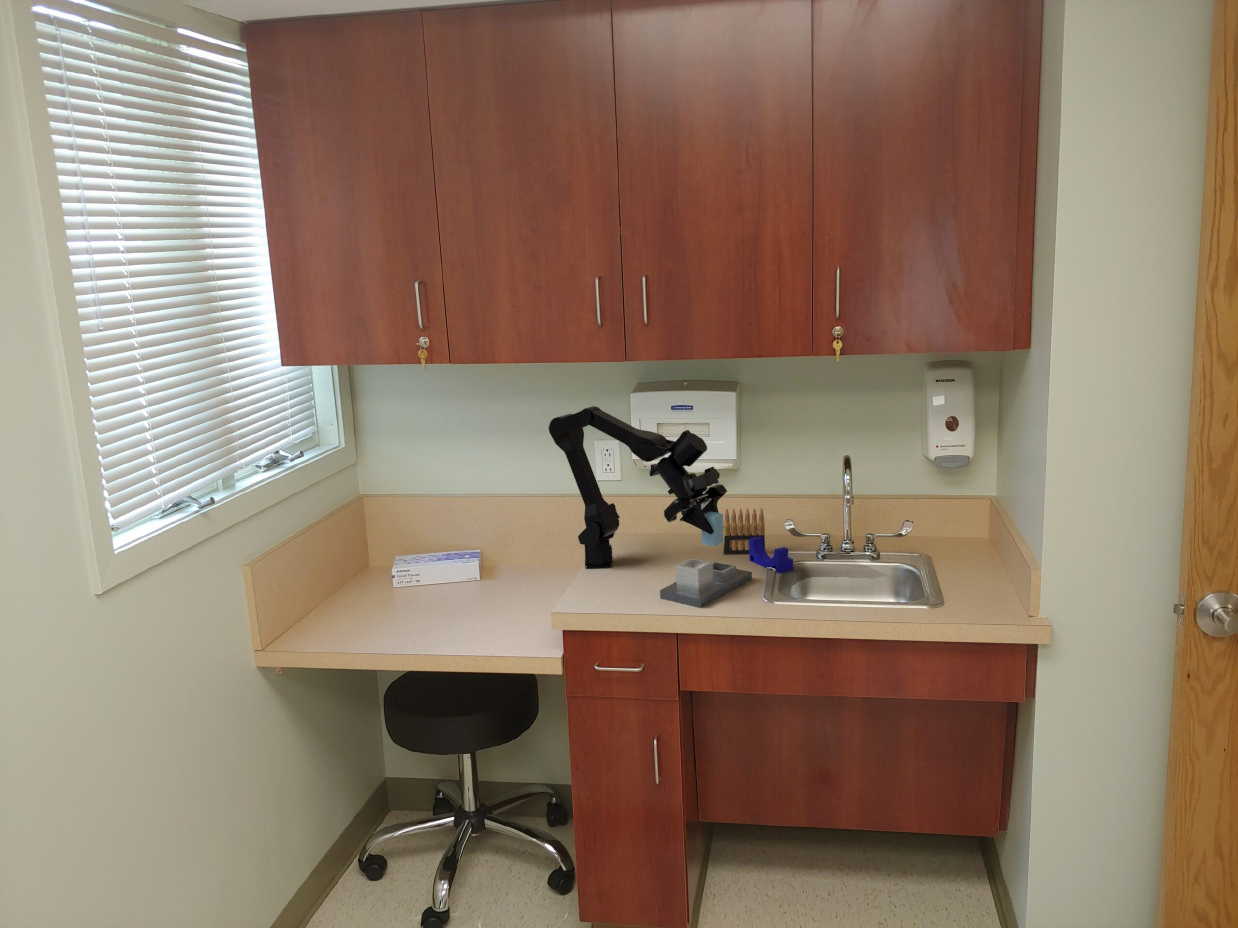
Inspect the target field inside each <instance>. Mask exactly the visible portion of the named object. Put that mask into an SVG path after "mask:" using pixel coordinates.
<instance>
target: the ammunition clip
mask: <svg viewBox="0 0 1238 928" xmlns="http://www.w3.org/2000/svg"><path fill="white" fill-rule="evenodd" d="M729 513H730V512H729V510H728V508H726V509H725V513H724V519H723V527H724V528H723V552H722V553H723V555H724V556H725V555H726V556H731V555H732V556H733V555H734V556H735V555H738V556H739V555H749V538H754V537H761V538H763V545H764V549H765V550H766V540H765V539H766V537H765V535H766V534H765V533H766V531H765V528H766V525H765V519H764V518H765V516H764V510H763V508H762V507H761V508H760V510H759V514H758V515H757V510H756V508H753V510H752V513H751V516H750V510H749V508H746V510H745V514H744V513H743V510H742V508H740V509H739V510H738V516H737V515H736V514H737V513H736V510H735V508H733V509H732V511H731V519H730V514H729ZM757 516H758V518H757ZM737 517H738V519H737ZM750 517H751V518H750ZM730 520H731V521H730Z"/></svg>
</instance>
